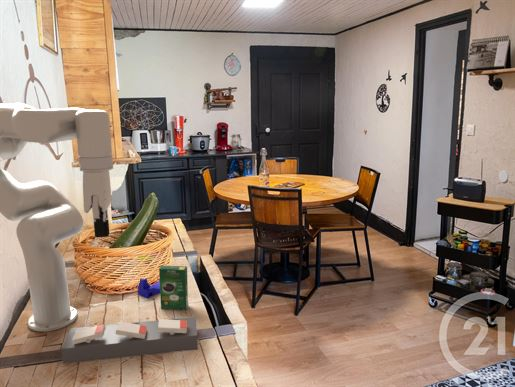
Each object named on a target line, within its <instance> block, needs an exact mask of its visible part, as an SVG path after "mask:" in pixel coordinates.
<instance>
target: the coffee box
mask: <svg viewBox="0 0 515 387" xmlns="http://www.w3.org/2000/svg"><path fill="white" fill-rule="evenodd" d="M158 271H159V272H158V274H159V278H160V293H159V294H160V295H159V296H160V309H161V310H178V311H182V310H185V311H187V310H188V307H189V293H188V288H189V287H188V266H184V265H183V266H182V265H165V264H164V265H160V267H159V269H158Z"/></svg>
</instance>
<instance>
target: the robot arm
mask: <svg viewBox="0 0 515 387" xmlns="http://www.w3.org/2000/svg"><path fill="white" fill-rule="evenodd" d="M110 119H111V118H110V115H109V112H107V111H105V110H103V109H101V110H100V109H86V108H81V107H66V108H65V107H64V108H63V107H61V108H60V107H59V108H48V109H46V108H45V109H36V108H35V107H33V105H32V106H31V105H28V104H26V103H23V102H22V103H21V102H14V103H0V157H1V158H2V159H3V160H2V161H5V160H11V159H13V158H16V157H17V156H19V154H21V152H22V151H23V150H24V147H25V146H26V145H27V143H34V144H35V143H37V144H38V143H39V144H40V143H41V144H53V143H58V142H64V141H72V140H73V141H74V140H76V146H77V154H78V167H79V171H80V172H82V197H83V198H82V199H83V200H82V201H83V212H84V213H86V214H88V213H89V212H90V211H91V212H92V219H93V229H94V230H93V232H94V237H95V238H107V237H109V235H110V224H109V222H110V221H109V219H108V218H109V215H108V214H109V211H108V208H109V207H110V205H111V204H112V188H111V178H110V171H111V170H114V162H113V161H114V158H113V150H112V147H113V146H112V136H111V121H110ZM0 214H1V216H3V217H4V218H6V220H9V221H12V222H17V221H19V222H18V224H17V226H16V230H15V231H16V232H15V234H16V237H17V239H18V242H19V245H20V248H21V250H22V254H23V259H24V263H25V268H26V270H25V271H26V275H27V281H28V282H27V283H28V290H29V293H30V294H29V295H30V301H31V307H32V308H31V309H32V315H31V316H30V317H29V318H28V320H27V324H28V325H27V326H28V327H29V329H30V330H32V331H34V332H35V331H36V332H41V333H42V332H52V331H56V330H60V329H62V328H65V327H67V326H68V325H71V324H72V323H73V322H74V321H75V320H76V319H77V317H78V311H77V309H76V307H73V306H71V302H70V293H69V285H68V277H67V270H66V264H65V257H64V256H63V254H62V253H61V252H60V251H59V250H58V249H57V248H56V244H58V243H60V242H62V241H65V240H68V239H70V238H72V237H75V236H77V235H78V234H80V232H82V231H83V227H84V219H83V216H82V214H81V212H80V211H79V210H78V208H77V207H76V206H75V205H74V204H73V203H72V202H71V201H70V200H69V199H68V198H67V197H66V196H65V195H64V194H63V193H62V192H61V191H60V190H59V189H58V188H57V187H56V186H55V185H53V184H52V183H50V182H48V181H45V180H35V181H34V180H33V181H30V182H26V183H21V182H18V181H17V180H16V179H15V178H14V177H13V176H12V175H11V174H10V173H9V172H8V171H7V170H4V169H2V168H0Z"/></svg>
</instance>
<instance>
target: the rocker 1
mask: <svg viewBox="0 0 515 387" xmlns="http://www.w3.org/2000/svg"><path fill="white" fill-rule="evenodd" d="M105 325H106V324H105V323H102V324H99V325H93V326H94V327H91V326H89V327H90V328H86V329H82V330H78V331H76V332H75V334H74V337H73V339H72V342H73V344H77V343H81V342H85V341H86V342H87V343H90V342H91V340H93V339H97V338H101V337H103V335H104V332H105V329H106V327H105Z"/></svg>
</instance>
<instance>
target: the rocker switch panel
mask: <svg viewBox="0 0 515 387" xmlns="http://www.w3.org/2000/svg"><path fill="white" fill-rule="evenodd" d="M168 320H186V321H187V332H186V333H174V334H173V335H171V334H170V332H158V324H159V319H157V320H149V321H148V320H146V321H135V322H131V323H132V324H138V325H145V326H147V328H146V335H145V339H142V338H136V337H132V338H131V339H129V338H128V337H127V336H123V335H117V334H116V330H117V326H118V323H117V324H116V323H115V324H114V323H113V324H105V327H106V329H105V332H104V335H103V337H101V338H97V339H93V340H91V342H90V343H87V342H86V341H85V342H81V343H77V344H73V342H72V339H73V337H74V334H75V332H76V331H78V330H82V329H86V328H90V327H94V326H95V325H91V326H85V327H84V326H82V327H73V328H71V327H70V328H69V331H68V333H67V335H66V338H65V339H64V341H63V344H62V346H61V348H60V352H61V360H62V364H72V363H82V362H90V361H91V362H92V361H98V360H99V361H100V360H110V359H118V358H119V359H120V358H127V357H128V358H129V357H138V356H146V355H148V356H149V355H158V354H168V353H177V352H178V353H179V352H187V351H196V350H197V351H198V350H199V348H198V346H199V343H198V327H197V316H191V317H180V318H169V319H168Z"/></svg>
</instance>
